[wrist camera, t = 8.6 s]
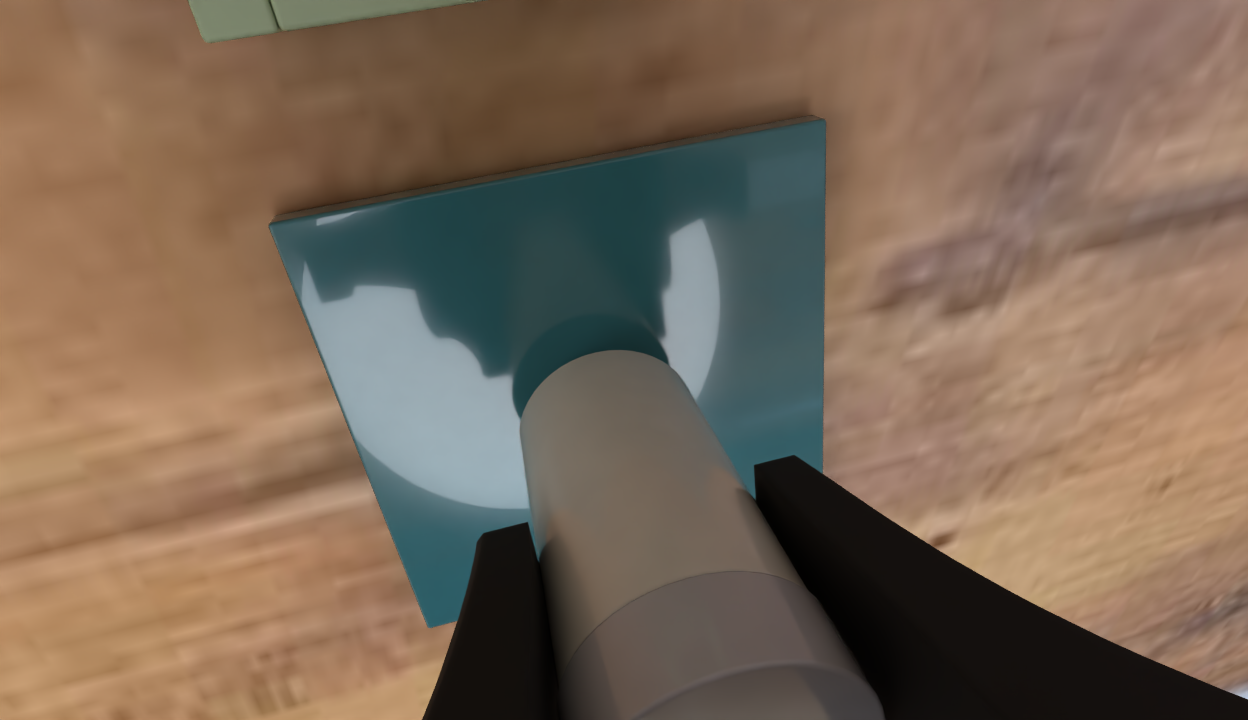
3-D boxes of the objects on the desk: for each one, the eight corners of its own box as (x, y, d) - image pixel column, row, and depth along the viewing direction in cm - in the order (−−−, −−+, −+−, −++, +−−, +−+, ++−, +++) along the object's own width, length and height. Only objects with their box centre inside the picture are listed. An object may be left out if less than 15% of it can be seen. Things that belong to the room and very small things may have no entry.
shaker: (687, 327, 12) (897, 624, 6) (702, 477, 14) (880, 819, 8) (497, 369, 12) (543, 726, 6) (535, 519, 13) (600, 910, 8)
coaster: (814, 113, 12) (827, 118, 12) (813, 510, 16) (823, 524, 16) (273, 214, 11) (266, 224, 10) (428, 611, 15) (427, 630, 15)
